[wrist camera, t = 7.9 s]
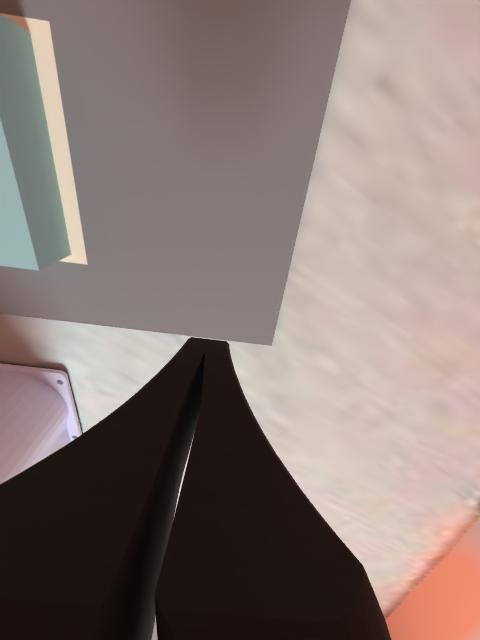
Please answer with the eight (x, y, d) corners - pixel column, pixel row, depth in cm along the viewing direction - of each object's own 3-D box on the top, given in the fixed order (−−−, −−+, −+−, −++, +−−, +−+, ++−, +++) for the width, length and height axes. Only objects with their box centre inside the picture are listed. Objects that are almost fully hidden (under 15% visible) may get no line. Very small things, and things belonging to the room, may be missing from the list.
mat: (270, 341, 20) (271, 345, 20) (-88, 298, 19) (-96, 301, 19) (366, -80, 10) (371, -90, 10) (-363, -222, 9) (-392, -240, 9)
